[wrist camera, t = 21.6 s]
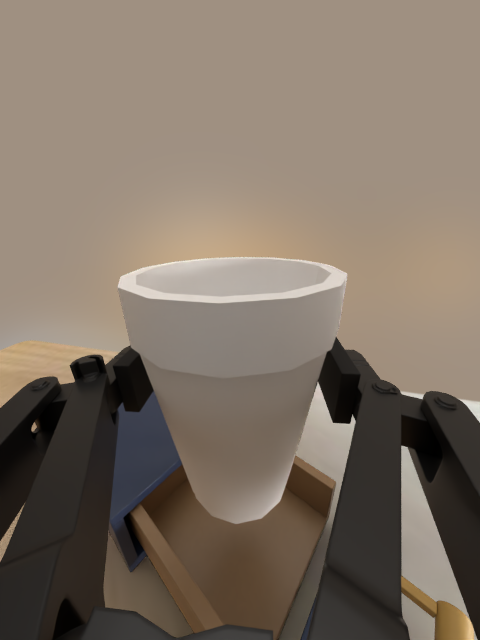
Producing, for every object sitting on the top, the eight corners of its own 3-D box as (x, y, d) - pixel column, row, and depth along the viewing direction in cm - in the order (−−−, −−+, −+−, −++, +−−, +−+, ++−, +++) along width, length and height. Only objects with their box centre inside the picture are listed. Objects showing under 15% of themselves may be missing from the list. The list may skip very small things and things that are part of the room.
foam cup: (160, 435, 18) (124, 264, 13) (266, 400, 21) (270, 253, 16) (180, 611, 10) (103, 327, 5) (348, 510, 13) (409, 280, 8)
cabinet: (244, 447, 29) (244, 402, 26) (130, 572, 18) (109, 521, 16) (169, 391, 39) (162, 355, 36) (67, 453, 28) (48, 408, 26)
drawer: (452, 600, 16) (481, 561, 14) (454, 1128, 7) (541, 1239, 5) (229, 436, 29) (227, 403, 27) (124, 538, 20) (109, 500, 18)
